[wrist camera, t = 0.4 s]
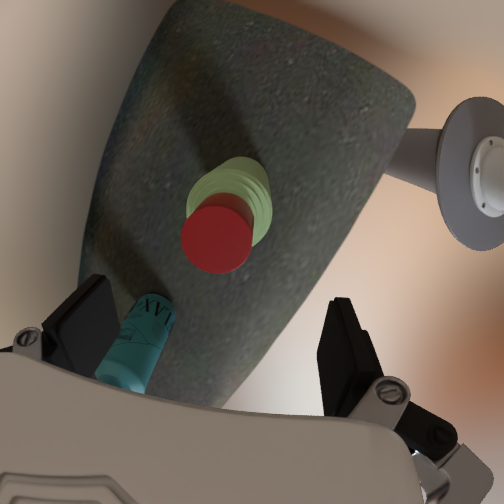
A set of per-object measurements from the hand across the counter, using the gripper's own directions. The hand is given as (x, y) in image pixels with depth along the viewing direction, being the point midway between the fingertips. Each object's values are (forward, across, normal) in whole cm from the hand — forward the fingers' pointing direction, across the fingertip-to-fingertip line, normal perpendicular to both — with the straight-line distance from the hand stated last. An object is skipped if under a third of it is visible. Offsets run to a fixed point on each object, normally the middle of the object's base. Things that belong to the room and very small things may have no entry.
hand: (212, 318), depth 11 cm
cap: (+8, +1, -1) cm, 9 cm away
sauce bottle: (+24, +2, -1) cm, 24 cm away
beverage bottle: (+23, +13, +17) cm, 32 cm away
